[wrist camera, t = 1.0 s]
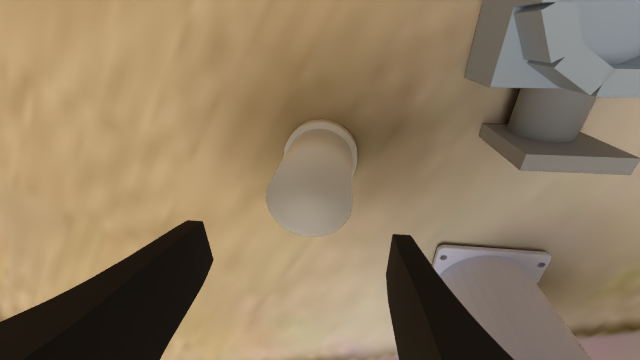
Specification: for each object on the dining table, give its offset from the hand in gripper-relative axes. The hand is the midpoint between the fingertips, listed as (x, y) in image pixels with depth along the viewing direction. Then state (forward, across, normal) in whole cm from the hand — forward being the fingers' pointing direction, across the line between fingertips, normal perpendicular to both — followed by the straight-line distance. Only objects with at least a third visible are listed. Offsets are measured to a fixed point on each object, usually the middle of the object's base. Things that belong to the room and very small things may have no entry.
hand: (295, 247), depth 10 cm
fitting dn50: (+9, 0, 0) cm, 9 cm away
